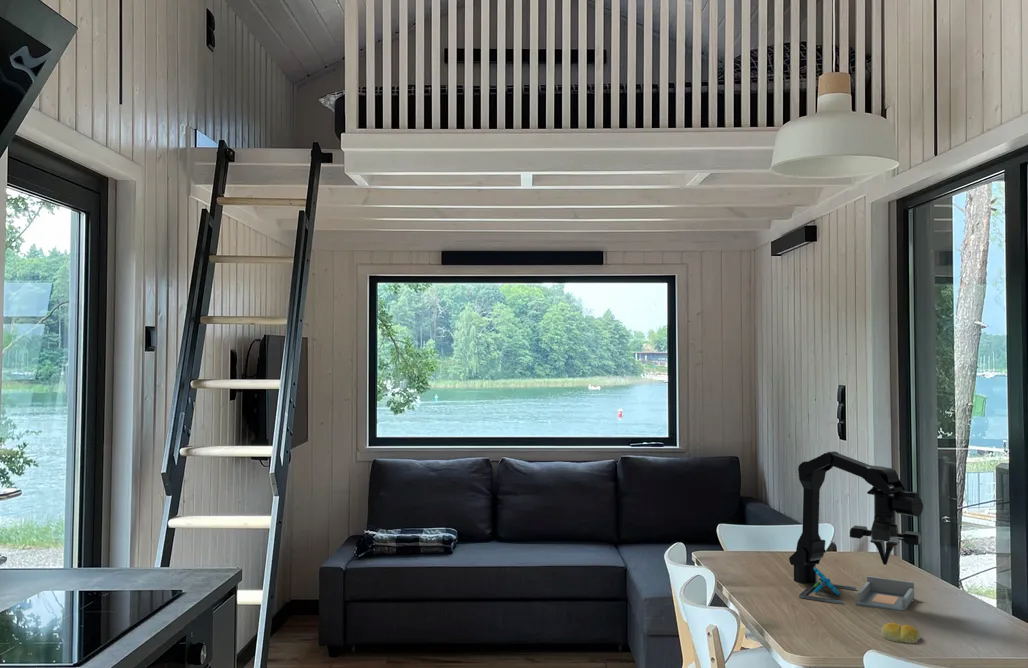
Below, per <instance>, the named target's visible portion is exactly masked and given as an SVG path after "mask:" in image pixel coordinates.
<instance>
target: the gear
mask: <svg viewBox="0 0 1028 668" xmlns="http://www.w3.org/2000/svg"><path fill="white" fill-rule="evenodd" d="M814 571H815V572H816V573H817V574H818V577H819V578H818V582H817V583H816V584H815V585H814V589H813V592H814V593H815V594H817V593H818V592H819V591H821V590H822V588H826V587H828V588H829V589H831V591H833V593H834V594H835V595H837V596H840V595H841V593H840V592H839V590H838V589H837V588H835V587H834V586H833V584H834V583H832V582H831V579H830V578H829V577H826V575H825V574H824V573H822V572H821V571H820V570H819V569H818V568H817V567H816V568H815V569H814ZM820 583H821V585H819V584H820ZM827 585H828V586H827Z"/></svg>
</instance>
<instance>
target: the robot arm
mask: <svg viewBox="0 0 1028 668" xmlns="http://www.w3.org/2000/svg"><path fill="white" fill-rule="evenodd" d="M833 468H836V469H839V470H842V471H844V472H847V473H849V474H852V475H855V476H857V477H860V478H861V479H863V480H864V481H865V482H866V483H867V484H869V485H871V486H872V487H871V488H870V489H869V490H867V492H866V493H867V494H868V495H871V496H873V502H874V503H873V504H874V505H873V509H874V510H873V512H874V513H873V516H874V517H873V521H872V526H871V529H868V527H867V526H865V525H854V526H852V527H851V528H850V530H849V538H851V539H859V540H860V539H862V538H863V537H870V540H869V542H870V543H872V544H873V545H875V547H876V549H877V551H878V554H879V557H880V559H881V562H882V565H885V566H887V565H888V562H889V559H890V557H891V554H892V552H893V549H894V547H895V546H898V545H899V544H900V541H903V542H904V543H905V544H906V545H911V546H913V545H914V546H919V545H920V544H921V542H922V536H921V535H922V534H920V532H918V531H917V532H916V531H909V530H905V532H903V533H899V529H898V524H896V514H899V515H905V516H910V517H916V518H918V517H920V516H921V514H922V513H923V509H924V504H923V500H922V499H921V497H920V496H919V492H916V491H907V489H906V487H905V485H904V484H903V482H902V481H901V479H900V478H899V474H898V472H897V471H896V470H895V469H894V468H892V467H886V466H879V465H871V464H868V463H865V462H862V461H860V460H857V459H855V458H852V457H850V456H847V455H844V454H841V453H839V452H838V451H826V452H824V453H822V454H821V455H820V456H817V457H814V458H812V459H810V460H807V461H802V462H801V463H800V464H799V465H798V467H797V472H798V480H799V482H800V484H801V485H802V488H803V491H802V493H803V494H802V496H803V498H802V532H801V534H800V537H799V538H798V539H797V543H796V550H795V552H794V553H793V554H791V556H790V557H788V561H789V563H790V565H791V566H793V582H797V583H800V584H807V585H811V584H812V583H813V582H815V581H817V582H818V581H819V580H818V579H819V578H818V577H819V575H818V574H817V573H816V572H815V571H814V569H815V568H817V565H819V564H820V561H821V559H822V558H823V557H824V554H825V553H827V551H826V539H822V538H821V536H820V534H819V531H820V530H819V527H820V490H821V487H822V485H823V484H824V482H825V479H826V473H828V471H830V470H832V469H833Z"/></svg>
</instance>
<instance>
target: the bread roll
mask: <svg viewBox="0 0 1028 668" xmlns="http://www.w3.org/2000/svg"><path fill="white" fill-rule="evenodd" d="M881 636H882V637H883V638H884V639H886V640H888V641H891V642H895V641H896V642H897V643H903V642H905V643H904V644H916V643H918V642H919V641H920V640H921V637H922V634H921V632H919V630H918V629H917V628H916V627H915V626H913V625H910V624H904V625H901V624H899V623H896V622H889V623H886V624H884V625H883V626H882V628H881ZM919 639H920V640H919ZM918 640H919V641H918ZM917 641H918V642H917ZM907 642H908V643H907ZM915 642H916V643H915Z"/></svg>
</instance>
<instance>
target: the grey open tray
mask: <svg viewBox="0 0 1028 668" xmlns="http://www.w3.org/2000/svg"><path fill="white" fill-rule="evenodd" d="M856 597H857V600H856V602H855V606H858V607H865V608H873V609H882V610H890V611H896V612H897V611H898V612H906V610H907V609H908V608H909V606H910V605H911V602H912V600H913V599H914V597H915V582H914V581H908V580H901V579H900V580H899V579H895V578H893V579H892V578H885V577H878V576H877V577H876V576H870V575H867V576H866V582H865V583H864V584H863V586H862V587H860V588H859V590H858V591H857V592H856ZM914 600H915V599H914ZM914 600H913V601H914ZM912 603H913V602H912Z"/></svg>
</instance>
